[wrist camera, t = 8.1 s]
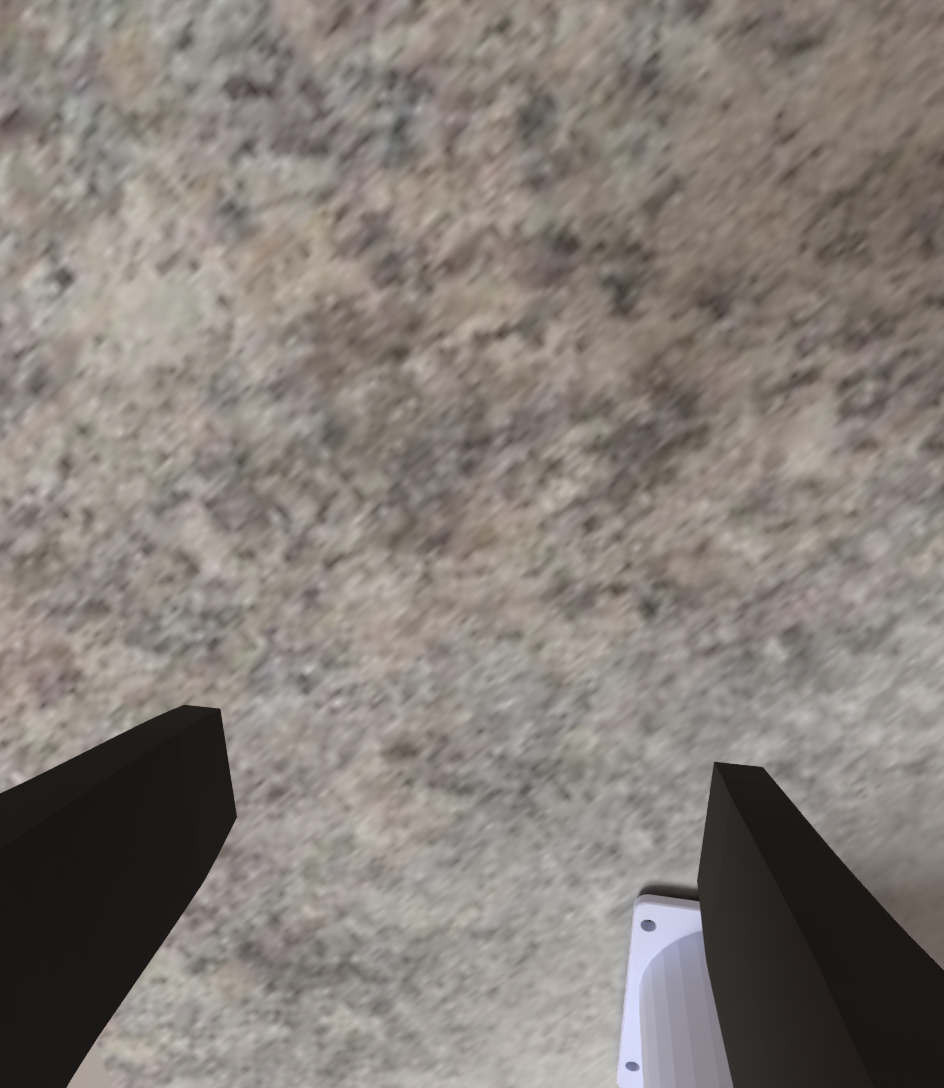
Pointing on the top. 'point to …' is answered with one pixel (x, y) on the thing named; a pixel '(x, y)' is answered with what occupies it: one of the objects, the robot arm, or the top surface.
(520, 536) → the top surface
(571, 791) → the top surface
